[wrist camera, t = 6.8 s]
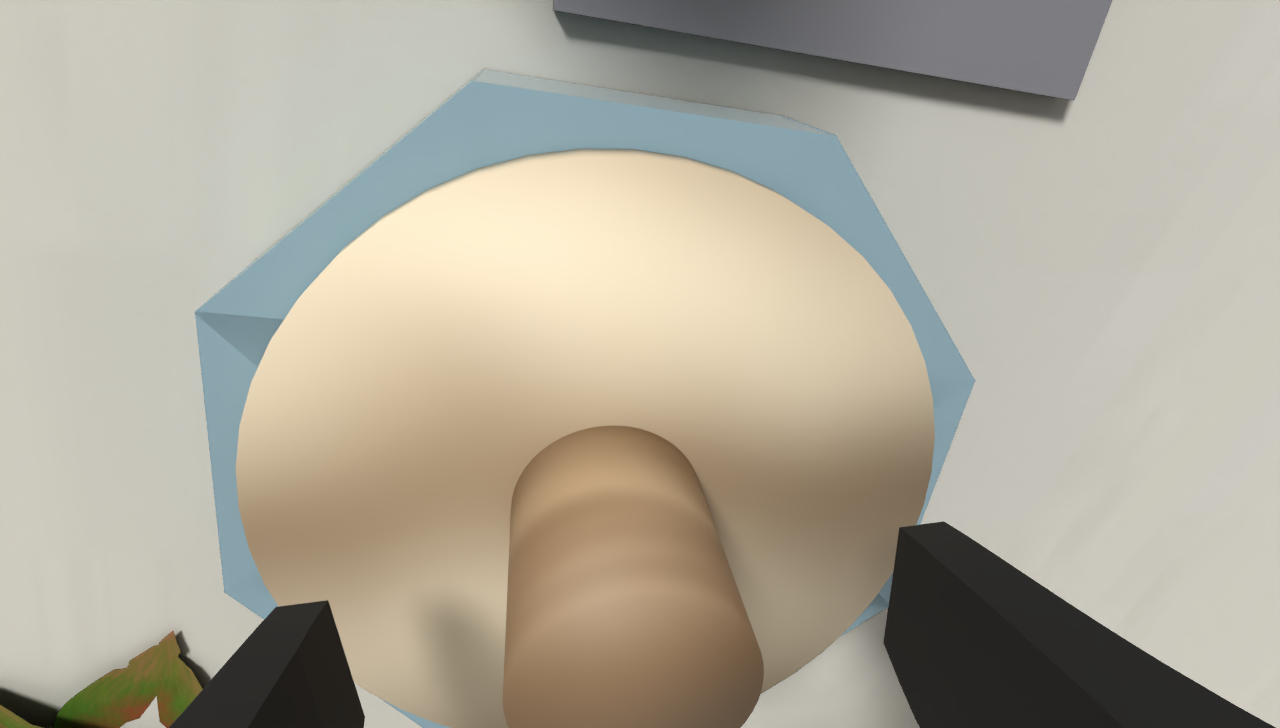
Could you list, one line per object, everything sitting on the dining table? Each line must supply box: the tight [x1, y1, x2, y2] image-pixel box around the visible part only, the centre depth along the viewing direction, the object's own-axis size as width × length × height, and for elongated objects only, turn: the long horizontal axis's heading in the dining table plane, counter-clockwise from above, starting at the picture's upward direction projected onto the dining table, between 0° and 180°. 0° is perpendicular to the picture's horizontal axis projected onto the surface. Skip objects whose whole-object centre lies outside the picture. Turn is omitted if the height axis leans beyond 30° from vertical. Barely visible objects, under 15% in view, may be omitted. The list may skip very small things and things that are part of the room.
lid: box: [236, 148, 935, 728], centre depth 10 cm, size 11×11×4 cm
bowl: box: [195, 69, 975, 728], centre depth 13 cm, size 12×12×2 cm
